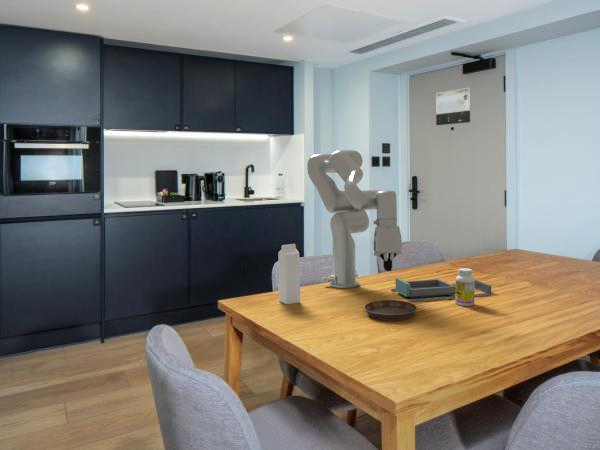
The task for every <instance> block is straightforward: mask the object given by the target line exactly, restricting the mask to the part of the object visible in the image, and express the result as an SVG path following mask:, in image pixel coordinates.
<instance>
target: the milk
mask: <svg viewBox="0 0 600 450" xmlns="http://www.w3.org/2000/svg"><path fill="white" fill-rule="evenodd" d="M277 253H278V254H277V256H278V257H277V258H278V261H277V262H278V294H279V295H278V296H279V300H278V301H279V302H281V303H283V304H285V305H291V304H298V303H301V276H300V275H301V273H300V271H301V269H300V267H301V266H300V265H301V263H300V262H301V261H300V260H301V259H300V252H299V250H298V249H297V245H296V243H289V244H283V245H281V248H280V250H279V251H278V252H277Z"/></svg>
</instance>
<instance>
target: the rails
mask: <svg viewBox="0 0 600 450" xmlns="http://www.w3.org/2000/svg"><path fill="white" fill-rule="evenodd" d="M451 285H453V286H455V287H456V283H455V284H451ZM475 289H476V290H478V291H481V292H483V293H474V298H475V297H476V298H478V297H488V296H489V297H490V296H492V285H489V284H488V283H485V282H482V281H481V280H480V281H479V280H477V279H475ZM390 291H391V292H397V291H396V288H390ZM451 299H453V300H455V295H450V296H448V295H442V296H430V297H417V299H415V298H409V299H408V300H407V302H409V303H412V302H415V303H416V302H425V301H437V300H438V301H439V300H440V301H441V300H451Z"/></svg>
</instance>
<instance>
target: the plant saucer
mask: <svg viewBox="0 0 600 450" xmlns="http://www.w3.org/2000/svg"><path fill="white" fill-rule="evenodd" d="M363 308H364V310H365V311H366V312H367V314H368V315H369V316H370V317H371V318H373V319H376V320H380V321H387V322H388V321H393V322H395V321H404V320H407V319H409V318H411V317H412V316H413V315H414V314H415V313H416V311H417V310H418V309H417V308H418V307H417V306H416V304H414V303H412V302H409V301H406V300H405V301H404V300H395V299H393V300H392V299H387V300H386V299H381V300H376V301H375V300H374V301H371V302H368V303H366V304H365V305H364V307H363Z"/></svg>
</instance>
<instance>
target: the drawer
mask: <svg viewBox="0 0 600 450" xmlns="http://www.w3.org/2000/svg"><path fill="white" fill-rule="evenodd" d="M395 289H396V291H395V292H397V293H399V294H400V295H402V296H404V297H405V298H406V297H410V298H411V299H418V298H428V297H441V296H454V295H455V286H453V285H451V284H450V283H447V282H446V281H444V280H442V279H439V278H434V279H423V280H422V279H421V280H419V279H418V280H408V281H407V280H404V279H402V278H400V277H397V278H395Z"/></svg>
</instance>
